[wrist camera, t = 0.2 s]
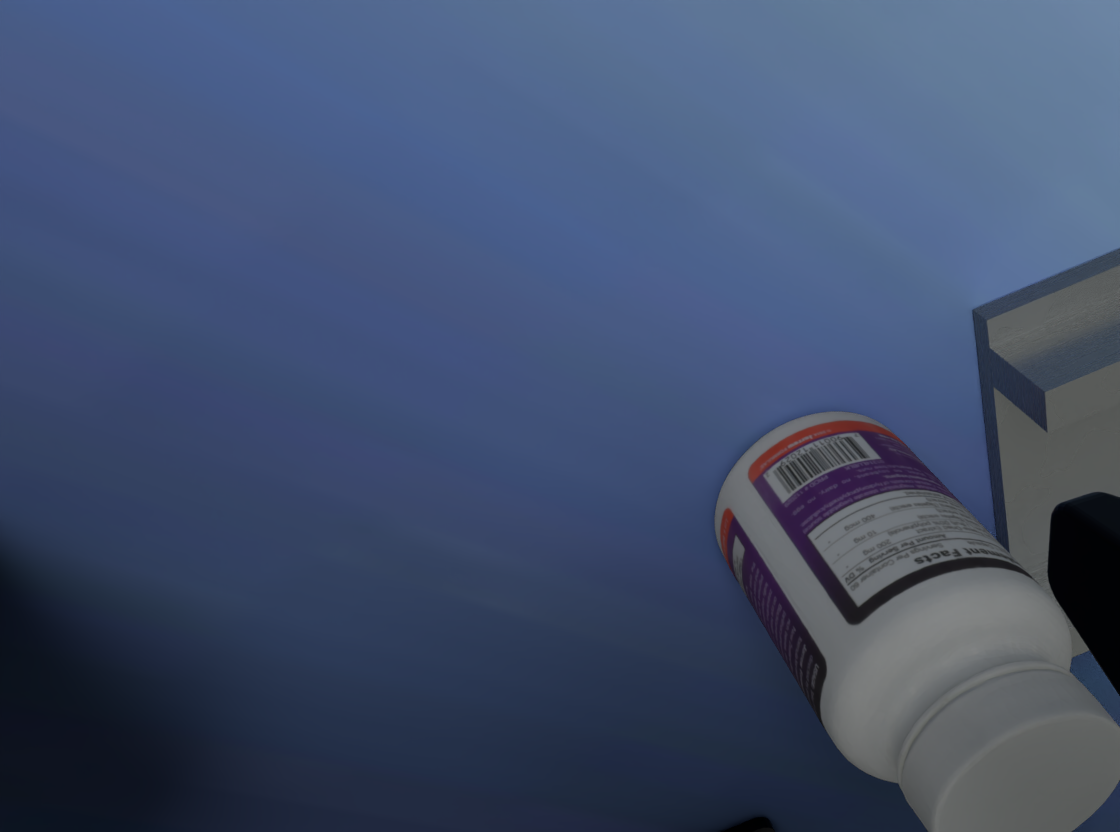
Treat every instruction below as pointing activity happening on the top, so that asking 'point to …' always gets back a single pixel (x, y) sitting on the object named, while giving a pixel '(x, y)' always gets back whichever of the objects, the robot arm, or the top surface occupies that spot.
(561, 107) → the top surface
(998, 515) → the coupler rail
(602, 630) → the top surface
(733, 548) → the pill bottle
